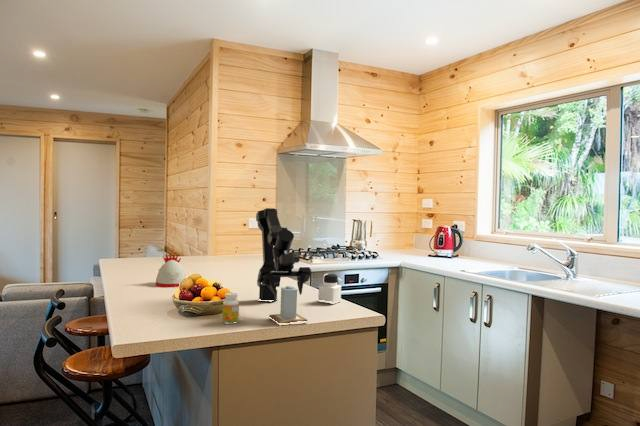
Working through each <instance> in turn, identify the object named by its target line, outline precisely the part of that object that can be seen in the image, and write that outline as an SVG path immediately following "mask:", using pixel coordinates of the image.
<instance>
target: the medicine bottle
mask: <svg viewBox="0 0 640 426" xmlns="http://www.w3.org/2000/svg"><path fill="white" fill-rule="evenodd" d="M322 278H323V279H322V281H323V282H322V284H321V285H318V297H317V298H318V299H319V300H325V301H332V302H334V301H338V300H341V301H342V299H341V298H342V285H339V284H338V280H339V279H338V278H339V276H338V275H337V274H335V273H325V274H324V275H323V277H322Z"/></svg>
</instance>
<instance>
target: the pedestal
mask: <svg viewBox="0 0 640 426" xmlns="http://www.w3.org/2000/svg"><path fill="white" fill-rule="evenodd" d="M268 317H271V318H272V319H274V320H275V321H277V322H278V323H290V322H297V321H307V322H308V319H307V318H305V317H303V316H302V315H300V314H298V313H296V318H295V319H283V318H282V317H281V316H280V313H277V314H275V313H274V314H269V316H268Z"/></svg>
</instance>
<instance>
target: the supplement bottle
mask: <svg viewBox="0 0 640 426" xmlns="http://www.w3.org/2000/svg"><path fill="white" fill-rule="evenodd" d="M224 295H225V297H224V298H225V299H224V300H223V302H222V321H221V322H222V323H223V322H225V323H234V322H239V314H240V312H239V311H240V301H239V300H238V293H236V292H227V293H225V294H224ZM225 323H224V324H225Z"/></svg>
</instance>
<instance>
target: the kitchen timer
mask: <svg viewBox="0 0 640 426" xmlns="http://www.w3.org/2000/svg"><path fill="white" fill-rule="evenodd" d="M162 258H163V260H164V263H162V265H161V267H160V268H159V269H158V273H157V275H156V279H155V286H156V287H160V288H179V287H178V286H179V283H180V282H181V281H182V280H183V279H184V278H186V279H187V277H186V272H185V270H184V268H183V266H182V265H181V264H180V262H181V257H179V259H178V255H176V256H175V253H173V254H172V253H169V256H168V253H165V257H164V256H162Z"/></svg>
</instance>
